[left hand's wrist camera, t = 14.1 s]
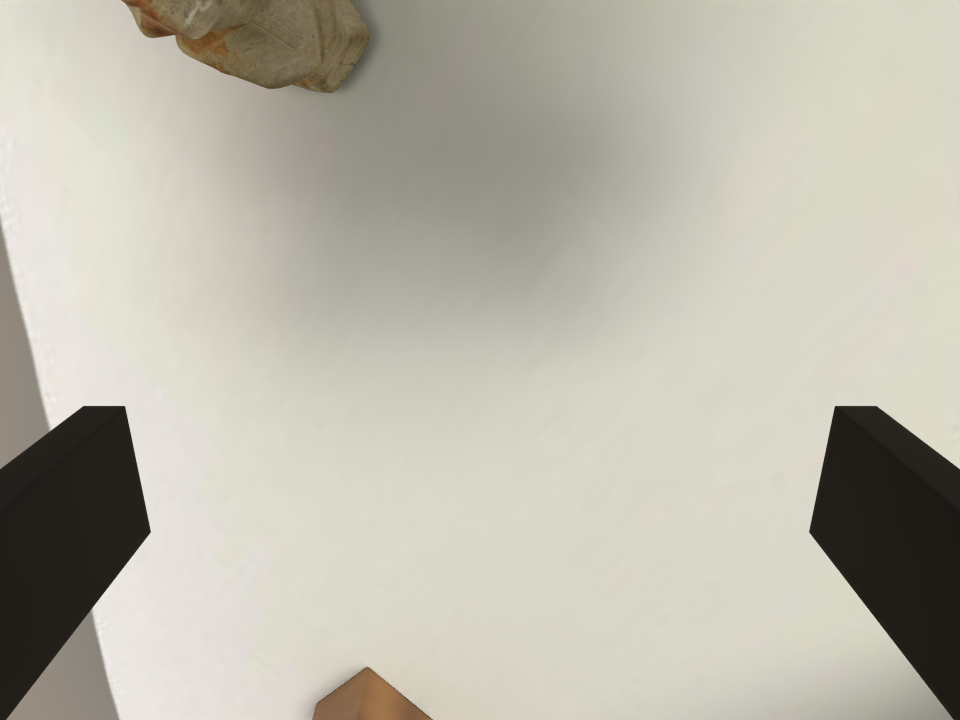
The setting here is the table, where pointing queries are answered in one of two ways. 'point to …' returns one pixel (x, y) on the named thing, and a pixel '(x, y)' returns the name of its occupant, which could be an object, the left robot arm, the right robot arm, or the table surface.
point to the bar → (367, 701)
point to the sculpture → (263, 37)
